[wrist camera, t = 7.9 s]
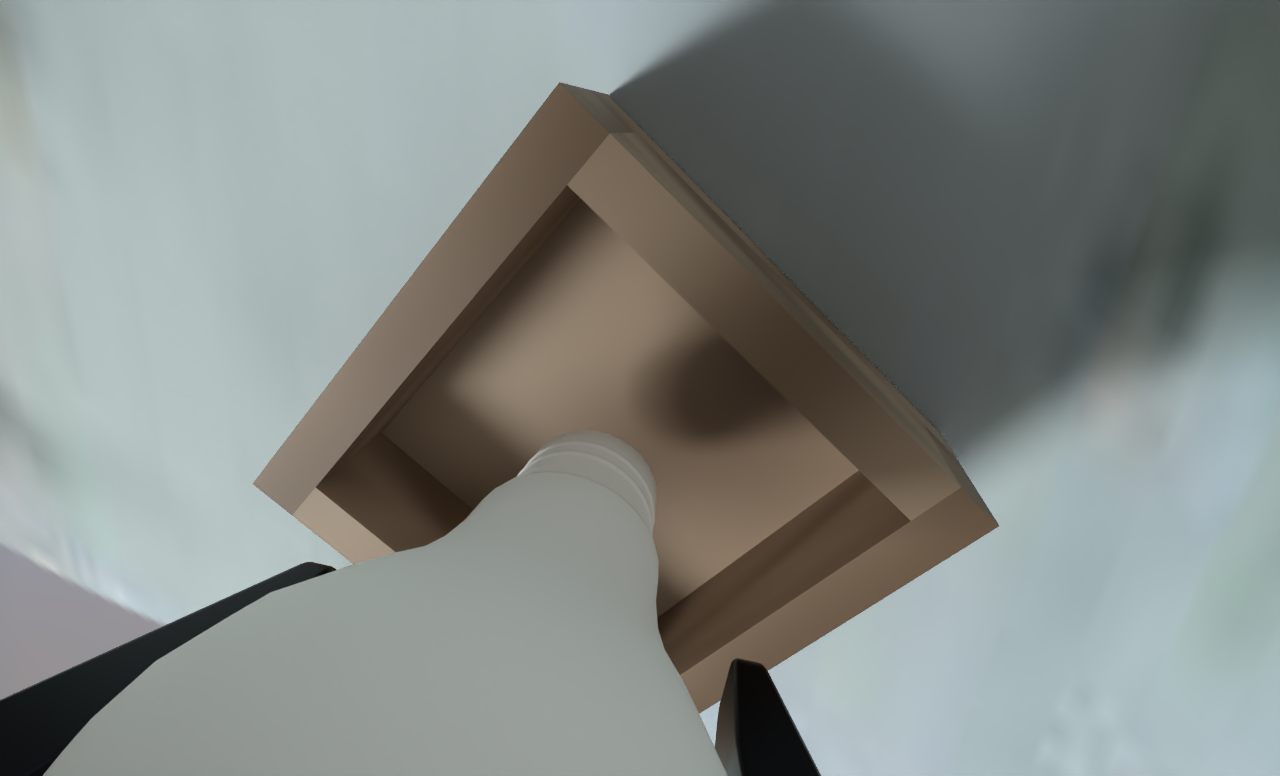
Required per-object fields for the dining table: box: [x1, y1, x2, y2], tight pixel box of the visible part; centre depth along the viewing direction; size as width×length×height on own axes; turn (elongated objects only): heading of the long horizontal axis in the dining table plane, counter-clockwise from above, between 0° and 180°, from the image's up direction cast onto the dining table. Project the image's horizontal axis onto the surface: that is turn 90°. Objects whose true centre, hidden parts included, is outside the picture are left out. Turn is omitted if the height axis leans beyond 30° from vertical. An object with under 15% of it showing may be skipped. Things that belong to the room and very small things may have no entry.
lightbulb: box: [43, 430, 727, 776], centre depth 8 cm, size 6×6×11 cm
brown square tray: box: [253, 82, 999, 713], centre depth 13 cm, size 10×10×4 cm
